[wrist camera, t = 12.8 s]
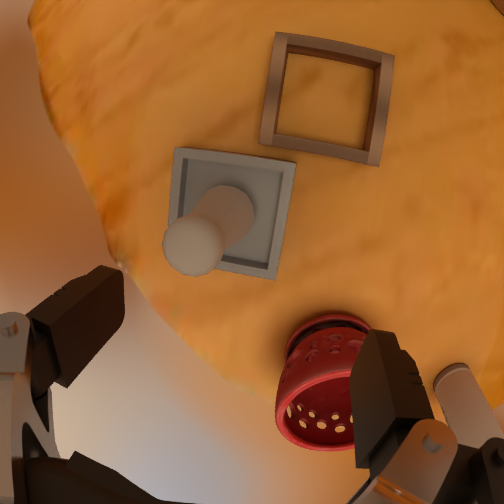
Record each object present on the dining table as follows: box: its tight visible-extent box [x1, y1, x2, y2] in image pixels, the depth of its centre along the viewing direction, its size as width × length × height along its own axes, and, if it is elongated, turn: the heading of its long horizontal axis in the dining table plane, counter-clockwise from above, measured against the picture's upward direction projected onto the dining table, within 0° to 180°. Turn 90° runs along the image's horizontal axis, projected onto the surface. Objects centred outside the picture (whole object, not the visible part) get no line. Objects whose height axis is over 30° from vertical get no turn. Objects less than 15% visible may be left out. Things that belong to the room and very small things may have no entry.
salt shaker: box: [162, 185, 255, 277], centre depth 26 cm, size 6×6×13 cm
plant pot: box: [275, 314, 371, 451], centre depth 32 cm, size 13×13×12 cm
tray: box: [168, 147, 296, 280], centre depth 32 cm, size 12×12×2 cm
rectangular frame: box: [258, 32, 395, 167], centre depth 27 cm, size 11×11×3 cm
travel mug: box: [433, 363, 504, 449], centre depth 27 cm, size 6×7×20 cm
